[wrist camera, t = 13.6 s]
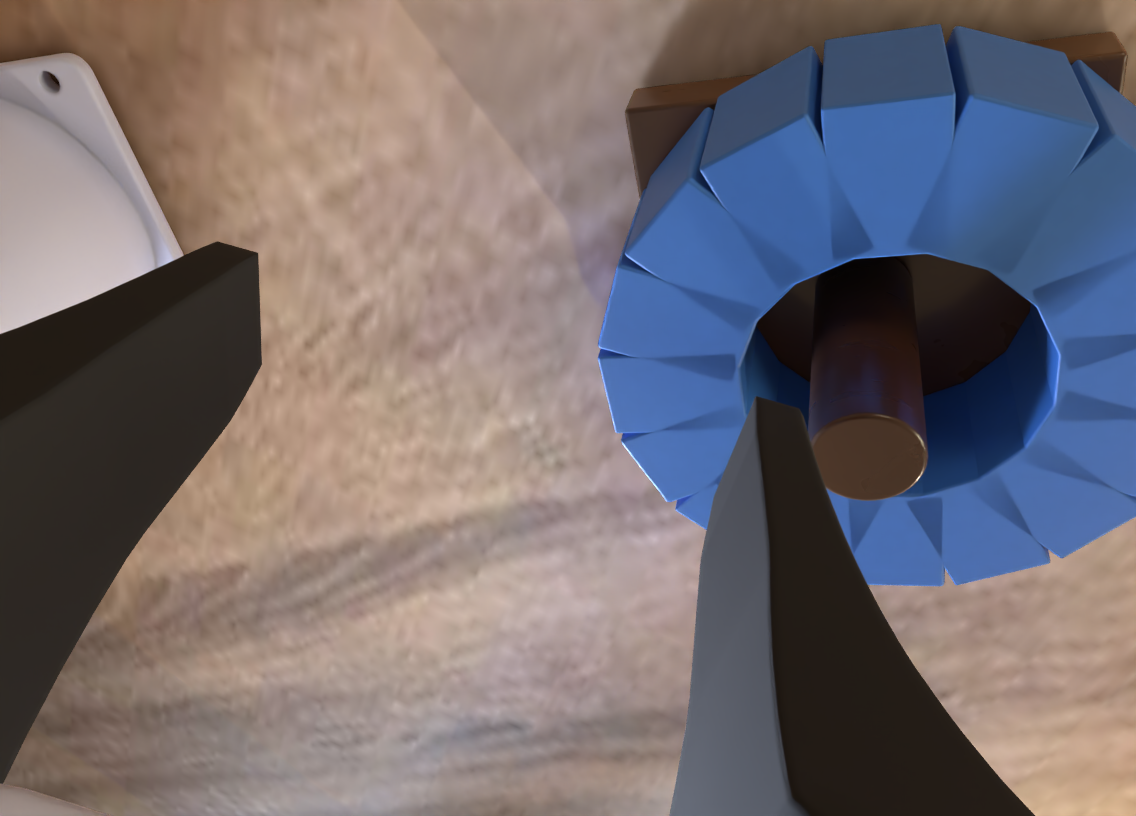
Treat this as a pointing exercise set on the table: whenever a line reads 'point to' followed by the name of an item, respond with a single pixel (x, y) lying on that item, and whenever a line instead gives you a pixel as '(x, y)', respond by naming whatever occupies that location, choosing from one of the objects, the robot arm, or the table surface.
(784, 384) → the tape
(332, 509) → the table surface
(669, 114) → the stand
